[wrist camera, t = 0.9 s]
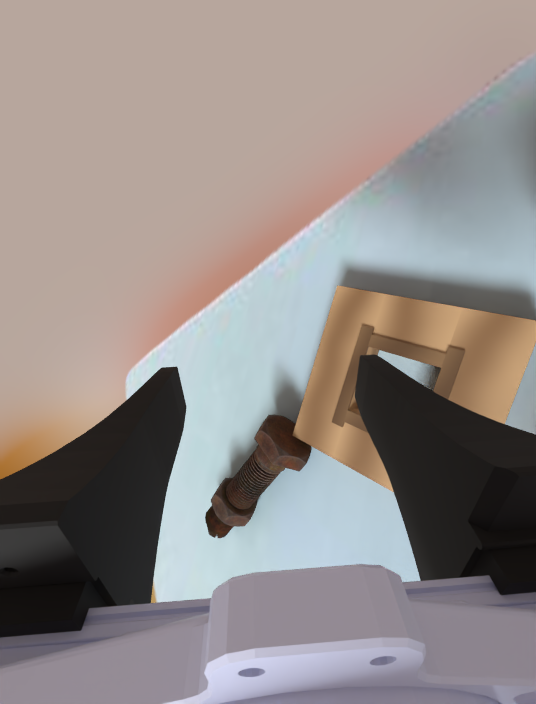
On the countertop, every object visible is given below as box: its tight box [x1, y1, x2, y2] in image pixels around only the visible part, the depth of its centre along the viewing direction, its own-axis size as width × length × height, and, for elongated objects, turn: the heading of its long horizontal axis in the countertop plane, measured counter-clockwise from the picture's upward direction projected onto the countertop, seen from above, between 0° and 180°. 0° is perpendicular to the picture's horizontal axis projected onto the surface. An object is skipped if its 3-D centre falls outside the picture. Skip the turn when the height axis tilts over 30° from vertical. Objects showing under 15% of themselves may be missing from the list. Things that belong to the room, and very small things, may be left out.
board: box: [293, 286, 536, 492], centre depth 25 cm, size 14×14×3 cm
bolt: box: [205, 415, 311, 538], centre depth 32 cm, size 6×5×15 cm
